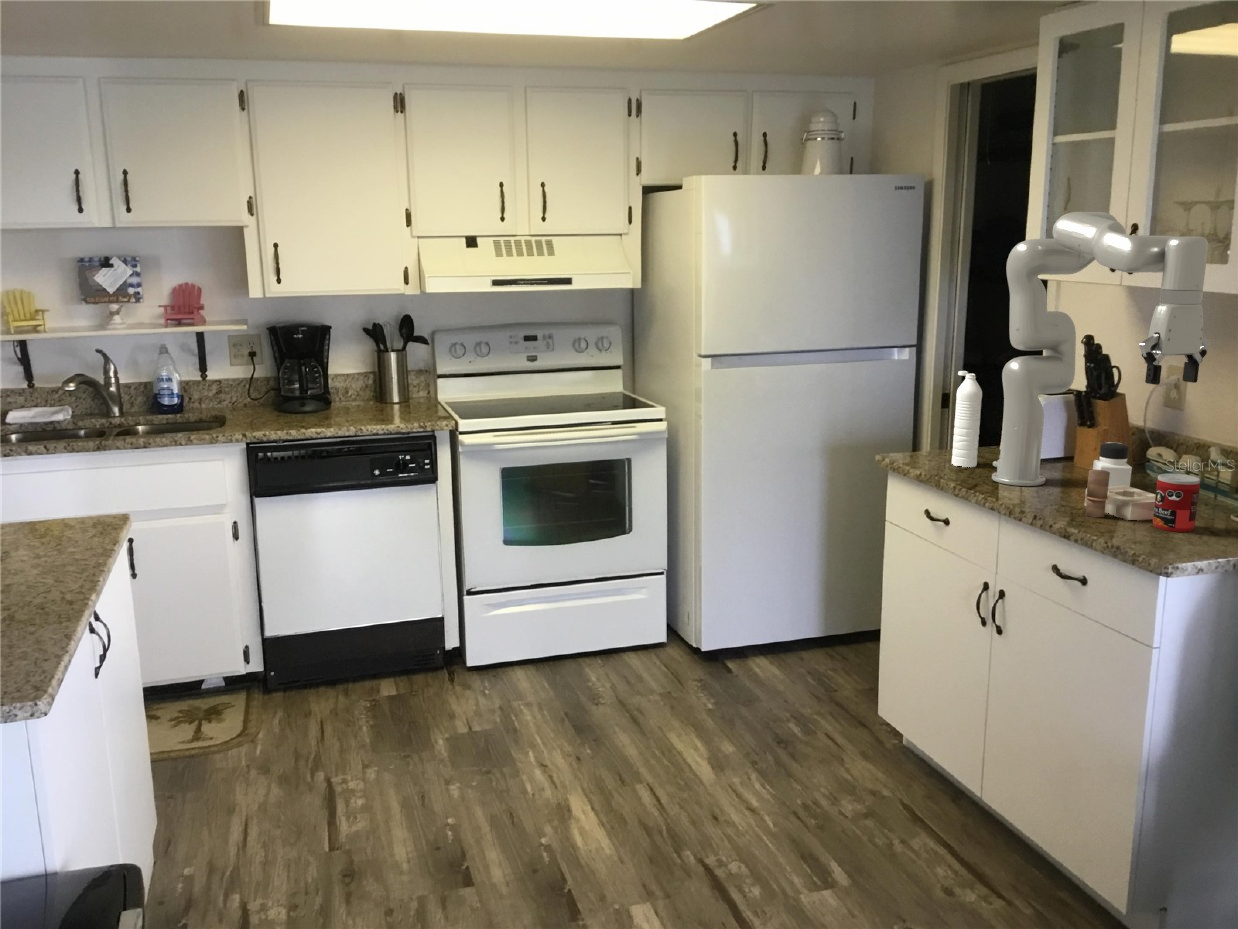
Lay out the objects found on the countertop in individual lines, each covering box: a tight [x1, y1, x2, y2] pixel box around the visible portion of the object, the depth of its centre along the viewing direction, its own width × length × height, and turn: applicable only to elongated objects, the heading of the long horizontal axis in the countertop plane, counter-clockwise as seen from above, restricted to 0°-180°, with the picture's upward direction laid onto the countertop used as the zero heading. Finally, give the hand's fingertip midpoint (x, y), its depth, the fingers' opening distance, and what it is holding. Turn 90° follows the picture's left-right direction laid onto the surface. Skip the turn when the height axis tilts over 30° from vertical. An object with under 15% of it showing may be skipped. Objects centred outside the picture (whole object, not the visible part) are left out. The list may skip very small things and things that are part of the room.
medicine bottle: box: [1092, 441, 1133, 487], centre depth 248 cm, size 7×7×12 cm
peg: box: [1085, 469, 1110, 518], centre depth 227 cm, size 4×4×10 cm
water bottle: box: [951, 370, 983, 469], centre depth 277 cm, size 9×6×25 cm
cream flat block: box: [1084, 485, 1156, 521], centre depth 231 cm, size 14×11×4 cm
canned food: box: [1152, 473, 1201, 533], centre depth 218 cm, size 8×8×11 cm
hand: (1171, 382), depth 212 cm, fingers open, 9 cm apart
